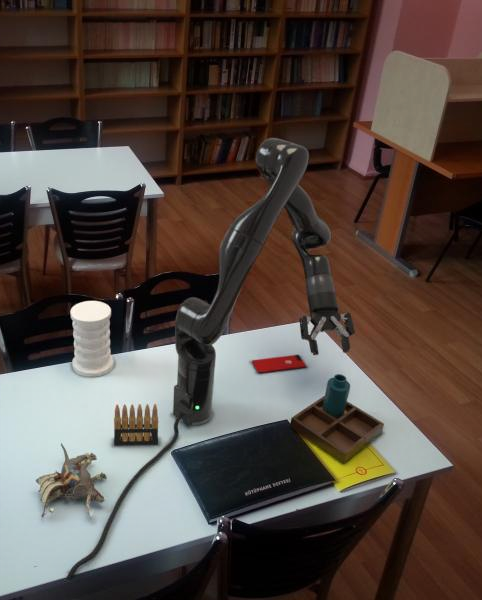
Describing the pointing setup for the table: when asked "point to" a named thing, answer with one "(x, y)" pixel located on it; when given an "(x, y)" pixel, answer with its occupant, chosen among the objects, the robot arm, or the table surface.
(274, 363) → the electronic device
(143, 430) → the ammunition clip
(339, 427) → the compartment tray
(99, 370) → the decorative container
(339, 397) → the bottle
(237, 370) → the table surface
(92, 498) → the figurine
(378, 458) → the table surface
